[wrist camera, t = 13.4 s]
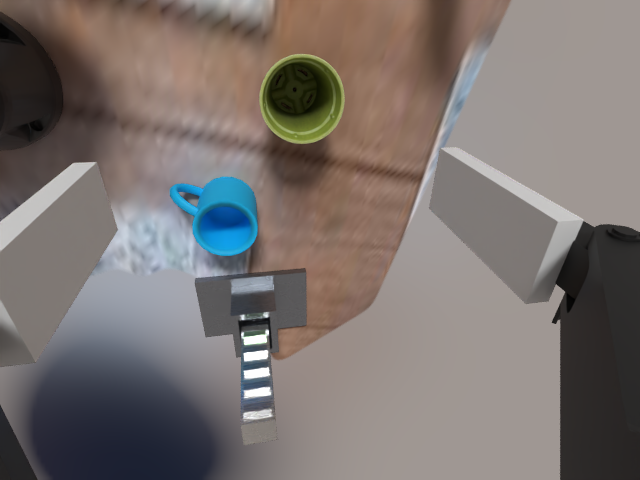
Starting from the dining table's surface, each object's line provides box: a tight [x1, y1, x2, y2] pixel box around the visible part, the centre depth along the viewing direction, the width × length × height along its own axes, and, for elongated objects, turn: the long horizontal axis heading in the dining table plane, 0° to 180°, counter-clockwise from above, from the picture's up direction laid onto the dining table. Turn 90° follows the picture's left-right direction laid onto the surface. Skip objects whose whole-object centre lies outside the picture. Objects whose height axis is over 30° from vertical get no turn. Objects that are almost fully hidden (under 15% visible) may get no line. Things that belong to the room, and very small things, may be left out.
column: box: [241, 324, 277, 445], centre depth 50 cm, size 4×6×16 cm
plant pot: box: [259, 54, 345, 144], centre depth 43 cm, size 9×9×9 cm
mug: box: [170, 177, 258, 256], centre depth 49 cm, size 12×8×8 cm
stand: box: [195, 268, 306, 357], centre depth 59 cm, size 18×12×10 cm, turn 89°
